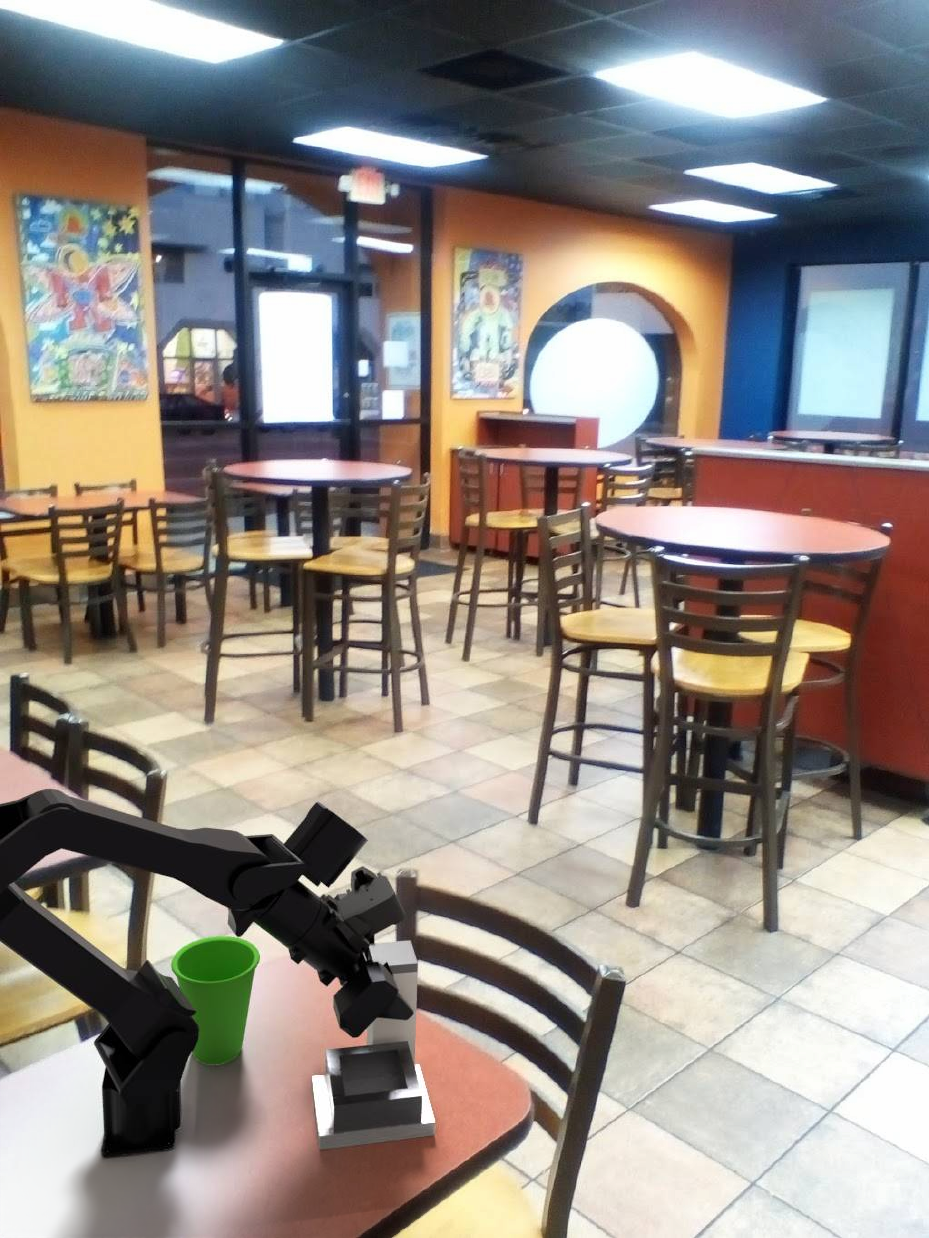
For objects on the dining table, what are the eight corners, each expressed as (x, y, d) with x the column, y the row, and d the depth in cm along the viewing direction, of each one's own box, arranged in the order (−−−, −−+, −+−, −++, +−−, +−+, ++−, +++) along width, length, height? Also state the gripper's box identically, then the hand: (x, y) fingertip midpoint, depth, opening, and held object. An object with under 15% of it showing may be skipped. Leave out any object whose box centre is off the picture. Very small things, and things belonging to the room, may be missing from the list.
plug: (372, 1074, 106) (374, 966, 103) (366, 1047, 110) (368, 943, 107) (414, 1070, 107) (417, 963, 104) (407, 1043, 111) (410, 940, 108)
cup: (158, 1046, 109) (155, 954, 106) (233, 1014, 115) (232, 926, 112) (199, 1090, 102) (197, 993, 100) (276, 1054, 108) (276, 961, 106)
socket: (319, 1149, 95) (320, 1108, 94) (312, 1089, 103) (312, 1050, 102) (434, 1135, 97) (436, 1094, 96) (418, 1076, 106) (419, 1038, 105)
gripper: (378, 906, 93) (486, 996, 99) (340, 823, 111) (433, 904, 116) (292, 995, 93) (406, 1080, 98) (267, 898, 110) (365, 975, 116)
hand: (404, 1001), depth 107 cm, fingers closed on plug, 5 cm apart
